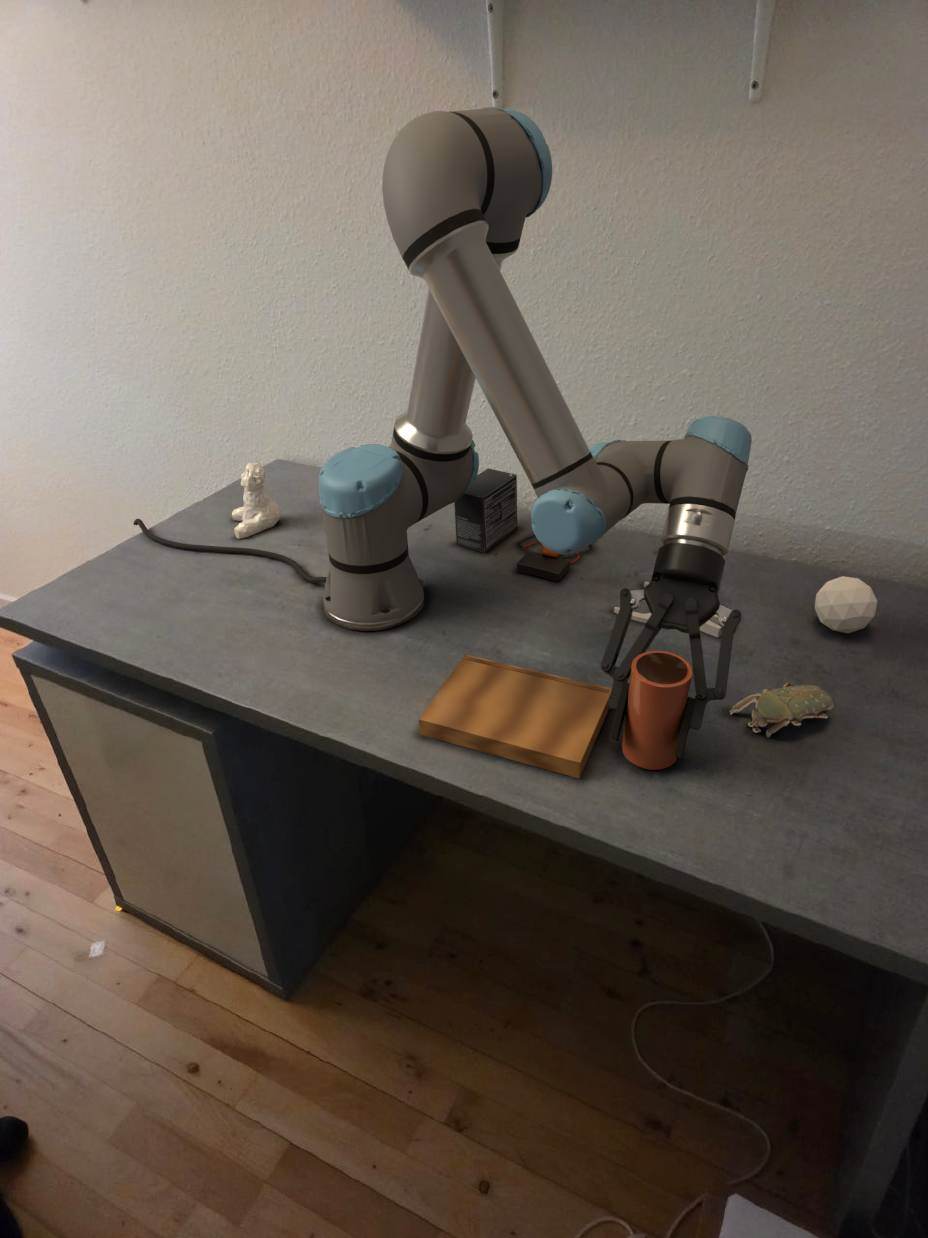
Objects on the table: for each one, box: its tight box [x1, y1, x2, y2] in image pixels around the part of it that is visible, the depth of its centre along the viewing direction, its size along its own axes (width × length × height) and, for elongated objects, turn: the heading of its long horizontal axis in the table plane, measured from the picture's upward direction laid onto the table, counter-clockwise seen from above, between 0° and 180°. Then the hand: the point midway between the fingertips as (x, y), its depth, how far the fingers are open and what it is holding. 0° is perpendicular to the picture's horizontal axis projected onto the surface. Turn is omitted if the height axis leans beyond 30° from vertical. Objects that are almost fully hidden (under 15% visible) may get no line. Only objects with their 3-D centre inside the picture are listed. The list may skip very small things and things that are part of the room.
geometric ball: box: [814, 575, 878, 634], centre depth 109 cm, size 8×8×8 cm
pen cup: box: [621, 650, 693, 771], centre depth 88 cm, size 6×6×12 cm
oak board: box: [418, 654, 612, 779], centre depth 97 cm, size 20×14×3 cm
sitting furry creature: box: [231, 461, 281, 540], centre depth 141 cm, size 10×9×12 cm
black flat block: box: [516, 534, 592, 582], centre depth 131 cm, size 18×12×3 cm, turn 145°
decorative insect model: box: [728, 682, 835, 738], centre depth 95 cm, size 9×11×5 cm
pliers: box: [613, 581, 723, 638], centre depth 115 cm, size 10×2×15 cm
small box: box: [453, 467, 519, 554], centre depth 134 cm, size 11×6×10 cm, turn 144°
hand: (645, 748), depth 87 cm, fingers closed on pen cup, 6 cm apart
